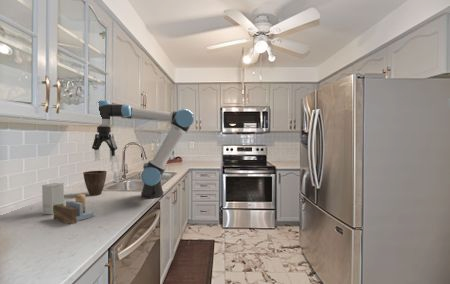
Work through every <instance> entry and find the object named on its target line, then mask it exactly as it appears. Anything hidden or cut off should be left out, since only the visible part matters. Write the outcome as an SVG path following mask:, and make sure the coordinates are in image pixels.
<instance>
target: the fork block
mask: <svg viewBox="0 0 450 284" xmlns="http://www.w3.org/2000/svg"><path fill="white" fill-rule="evenodd" d="M65 206H67V207H72V208H76V221H77V222H78V221H82V220H85V219H88V218H92V217H94V216H95V212H94V211H92V210H91V211H87V212H86V211H85V213H83V203H79V202H76V201H73V200H66V201H65Z"/></svg>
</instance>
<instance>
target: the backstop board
mask: <svg viewBox="0 0 450 284" xmlns="http://www.w3.org/2000/svg"><path fill="white" fill-rule="evenodd" d="M53 220H56V221H58V222H59V221H60V222H64V223H66V224H70V225H74V224H77V222H78V221H76V208H72V207H67V206H66V205H64V206H63V205H59V204H56V205H54V214H53Z"/></svg>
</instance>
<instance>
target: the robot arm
mask: <svg viewBox="0 0 450 284" xmlns="http://www.w3.org/2000/svg"><path fill="white" fill-rule="evenodd" d="M98 101H99V102H98ZM98 101H97V102H98V103H99V111H100V115H101V117H102V124H101V125H99V126H97V127H96V132H97V133H96V134H95V135H94V139H93V144H92V146H91V149H93V150H94V161H100V160H101V159H100V158H101V154H100V152H101V151H100V147H101V146H102V144H103V143H106V145H107V147H108V148H109V162H115V161H116V159H115V156H116V150H117V149H118V146H117V142H116V140H115V137H114V134H113V133H111V132H112V130H111V128H112V127H111V125H112V124H111V117H114V118H115V117H118V118H122V119H131V120H138V121H140V120H141V121H146V122H147V121H149V122H156V123H164V124H165V123H166V124H169V125H170V129H169V131H168V133H167V134H166V135H165V137H164V139H163V141H162V143H161V145H160V146H159V148H158V149H157V152H156V153H155V155H154V157H153V159H151V160H148V162H144V163H143V166H142V167H143V171H142V172H141V174H140V177H141V181H142V182H143V186H142V190H141V192H140V197H141V198H144V199H157V198H162V197H163V196H164V195H165V194H164V193H165V192H164V190H163V186H162V176H163V174H164V173H165V171H166V164H167V163H168V161H169V160H170V157H171V156H172V154H173V152H174V151H175V148H176V147H177V145H178V144H179V141H180V140H181V138H182V136H183V135H184V134H187V132H188V131H189V129H190V127H191V126H192V125H193V123H194V121H195V116H194V113H193V112H192V111H191V110H190V109H187V108H181V109H179V110H177V111H175V110H172V111H170V112H169V111H162V110H154V109H146V108H145V109H144V108H139V107H138V108H136V107H132V106H131V105H130V104H112V103H111V101H109V100H98Z"/></svg>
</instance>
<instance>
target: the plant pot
mask: <svg viewBox="0 0 450 284" xmlns="http://www.w3.org/2000/svg"><path fill="white" fill-rule="evenodd" d="M107 172H108V171H106V170H89V171H88V170H87V171H84V172H82V174H83V179H84V185H85V188H86V190H87V193H88V195H89V196H99V195H102V192H103V191H104V186H105V184H106V179H107Z"/></svg>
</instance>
